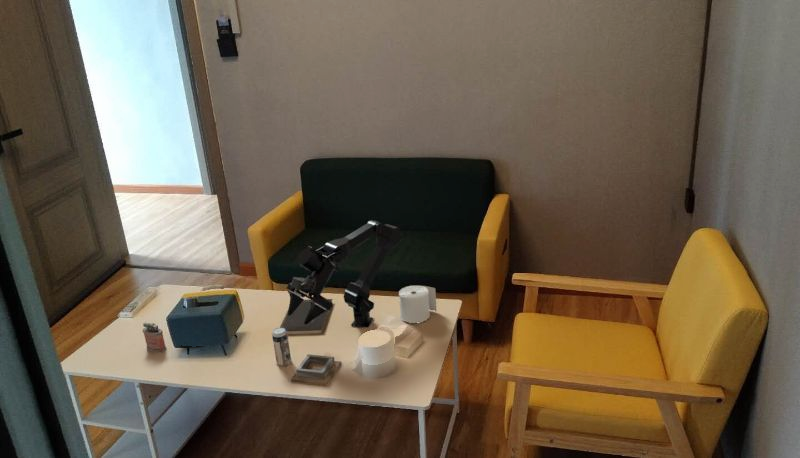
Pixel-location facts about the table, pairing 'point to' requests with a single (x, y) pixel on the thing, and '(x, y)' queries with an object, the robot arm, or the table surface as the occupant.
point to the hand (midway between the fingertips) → (296, 319)
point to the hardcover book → (297, 318)
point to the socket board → (316, 370)
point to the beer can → (281, 346)
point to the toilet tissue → (416, 303)
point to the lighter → (154, 338)
